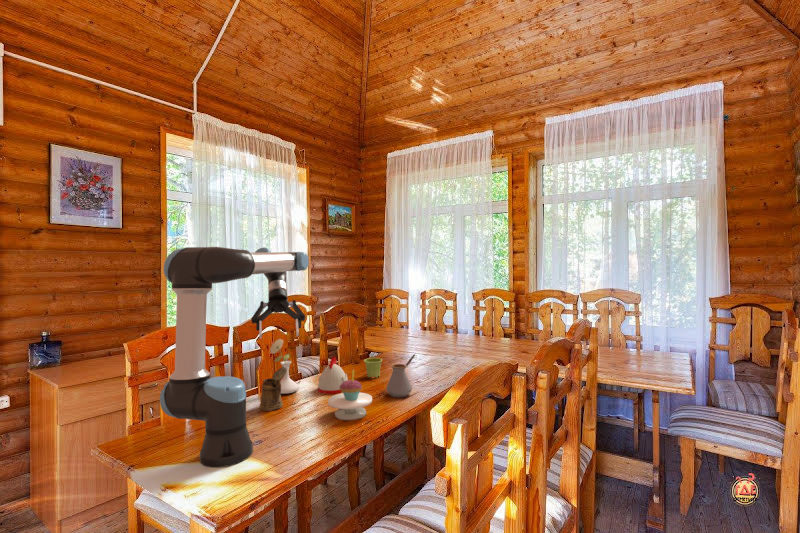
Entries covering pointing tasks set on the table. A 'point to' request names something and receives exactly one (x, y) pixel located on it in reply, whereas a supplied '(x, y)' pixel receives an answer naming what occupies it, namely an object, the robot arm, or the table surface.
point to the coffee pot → (399, 381)
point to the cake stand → (350, 406)
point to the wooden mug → (272, 391)
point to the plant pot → (373, 366)
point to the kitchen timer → (331, 378)
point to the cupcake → (351, 388)
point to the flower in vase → (286, 382)
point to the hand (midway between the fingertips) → (279, 335)
